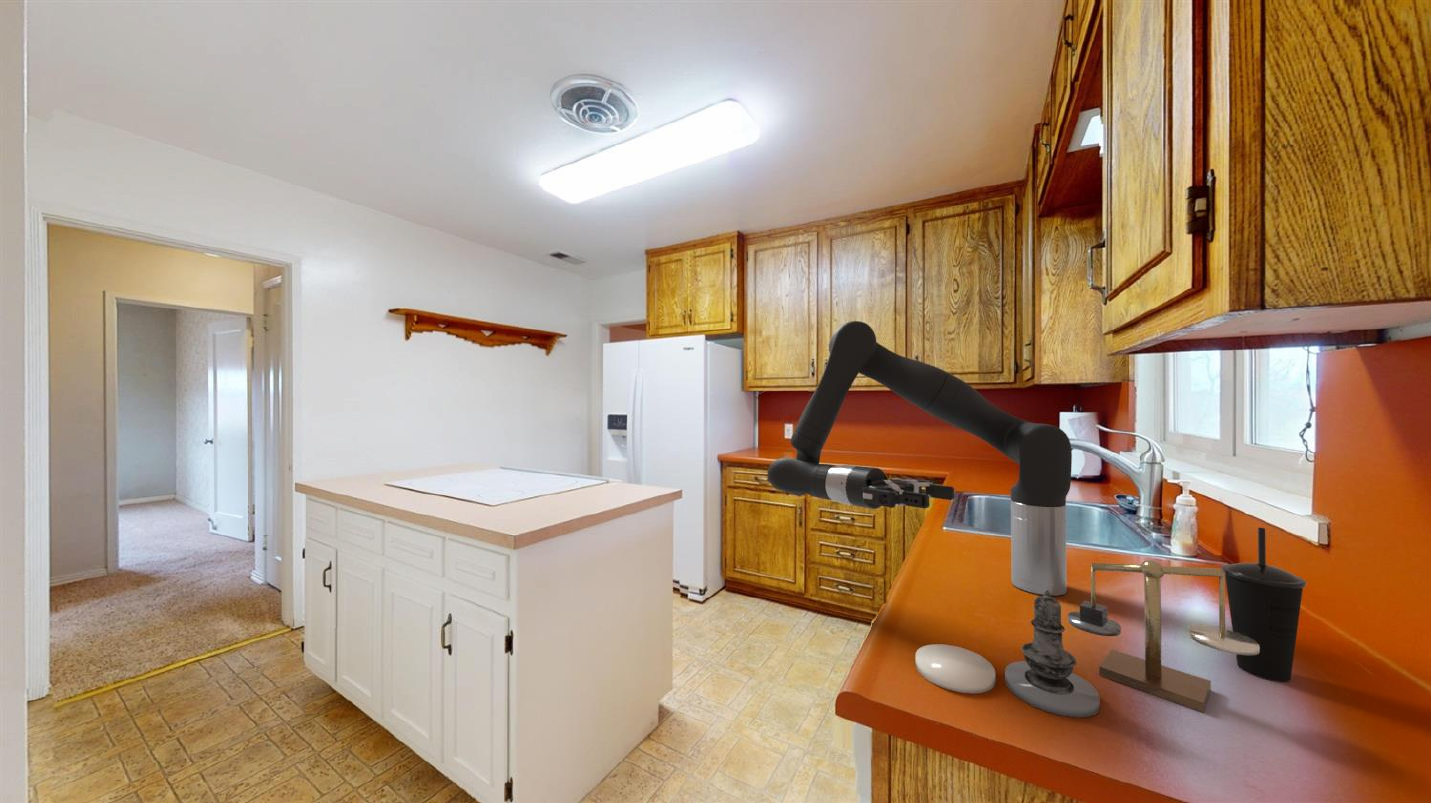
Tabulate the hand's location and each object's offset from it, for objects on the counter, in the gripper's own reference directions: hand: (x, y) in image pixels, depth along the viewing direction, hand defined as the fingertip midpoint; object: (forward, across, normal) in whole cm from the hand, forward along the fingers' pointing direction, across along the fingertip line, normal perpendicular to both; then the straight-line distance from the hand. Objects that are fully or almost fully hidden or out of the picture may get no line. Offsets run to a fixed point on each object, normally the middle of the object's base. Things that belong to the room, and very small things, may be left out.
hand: (941, 497), depth 76 cm
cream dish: (+6, -9, +22) cm, 25 cm away
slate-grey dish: (+15, -4, +23) cm, 28 cm away
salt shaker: (+15, -4, +22) cm, 27 cm away
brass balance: (+24, +8, +23) cm, 34 cm away
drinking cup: (+33, +23, +24) cm, 47 cm away
